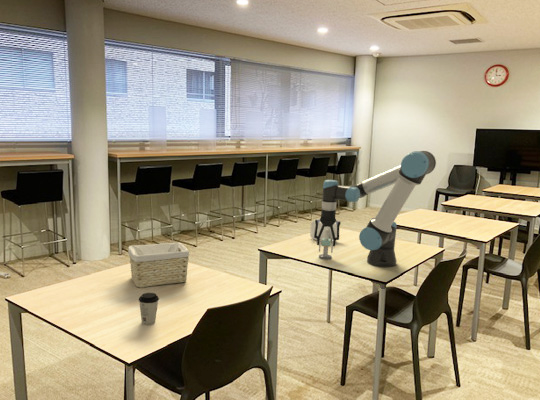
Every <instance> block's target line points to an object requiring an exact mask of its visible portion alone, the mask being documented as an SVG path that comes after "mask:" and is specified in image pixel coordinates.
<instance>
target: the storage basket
mask: <svg viewBox="0 0 540 400" xmlns="http://www.w3.org/2000/svg"><path fill="white" fill-rule="evenodd" d="M127 248H128V252H127V253H128V255H129V264H130V269H131V270H130V271H131V272H130V273H131V280H132V281H133V283H134V284H135V287H136V288H145V287H154V286H155V287H156V286H163V285H172V284H177V283H180V284H181V283H185V282H187V279H188V277H187V276H188V265H189V264H188V263H189V260H190V259H189V256H190V251H189V249H188V248H187V247H186V246H185V245H184V244H183V243H181V242H179V241H178V242H166V243H156V244H155V243H153V244H138V245H129V246H128V247H127Z"/></svg>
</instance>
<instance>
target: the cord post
mask: <svg viewBox="0 0 540 400" xmlns="http://www.w3.org/2000/svg"><path fill="white" fill-rule="evenodd" d="M328 233H329V230H328V229H326V233H325V240H328ZM329 247H330V246H323V251H322V254H321V253H320V254H318V258H319V259H320V260H325V261H326V260H327V261H328V260H329V261H330V260H332V255H330V254H329Z"/></svg>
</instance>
